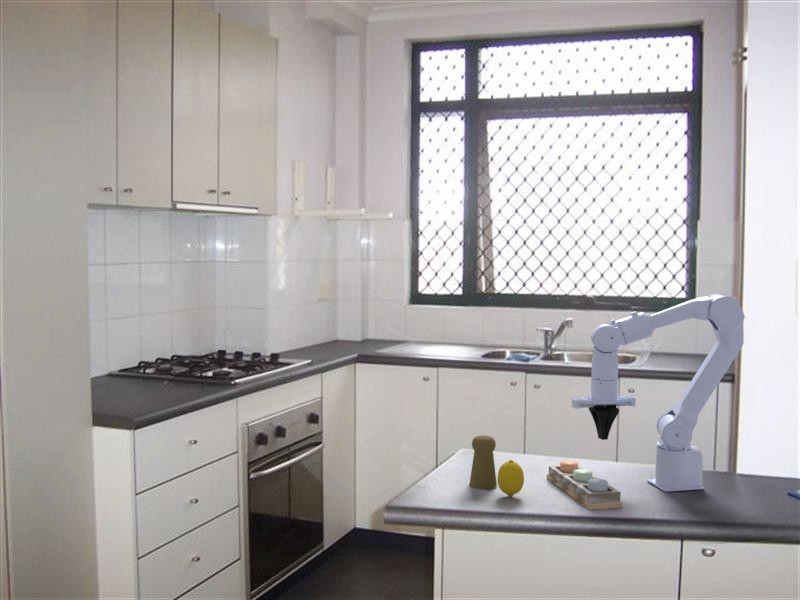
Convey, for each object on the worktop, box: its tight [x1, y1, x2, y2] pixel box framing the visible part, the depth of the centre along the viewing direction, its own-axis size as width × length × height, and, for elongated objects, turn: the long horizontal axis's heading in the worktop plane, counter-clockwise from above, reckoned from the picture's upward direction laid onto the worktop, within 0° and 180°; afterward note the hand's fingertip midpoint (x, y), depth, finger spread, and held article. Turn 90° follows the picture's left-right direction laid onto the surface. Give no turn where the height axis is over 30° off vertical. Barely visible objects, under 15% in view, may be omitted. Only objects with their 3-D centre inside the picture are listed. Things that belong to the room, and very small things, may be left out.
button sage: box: [573, 468, 593, 482], centre depth 180 cm, size 4×4×3 cm
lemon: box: [497, 459, 525, 498], centre depth 176 cm, size 6×6×8 cm
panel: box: [546, 464, 624, 511], centre depth 180 cm, size 22×7×3 cm, turn 13°
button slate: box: [588, 478, 609, 492], centre depth 173 cm, size 4×4×3 cm
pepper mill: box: [468, 435, 498, 490], centre depth 184 cm, size 6×6×11 cm
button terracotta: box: [559, 460, 579, 473], centre depth 187 cm, size 4×4×3 cm
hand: (602, 438), depth 187 cm, fingers closed
